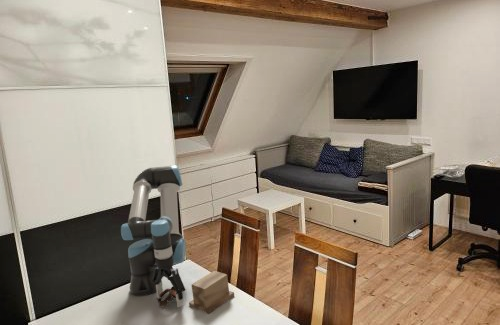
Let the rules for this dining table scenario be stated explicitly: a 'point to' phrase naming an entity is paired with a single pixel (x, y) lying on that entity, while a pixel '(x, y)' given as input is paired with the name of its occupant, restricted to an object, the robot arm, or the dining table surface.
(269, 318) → the dining table surface
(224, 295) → the stand
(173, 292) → the broken clay pot
